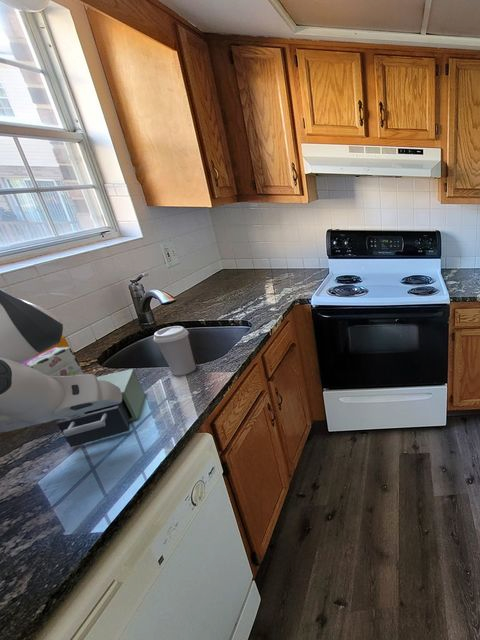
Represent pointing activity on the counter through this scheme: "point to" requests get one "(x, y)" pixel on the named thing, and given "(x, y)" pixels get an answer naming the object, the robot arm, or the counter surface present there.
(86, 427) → the drawer with bar handle
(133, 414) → the drawer cabinet
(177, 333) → the coffee cup
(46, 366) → the candy bar box
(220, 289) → the counter surface
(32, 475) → the counter surface
